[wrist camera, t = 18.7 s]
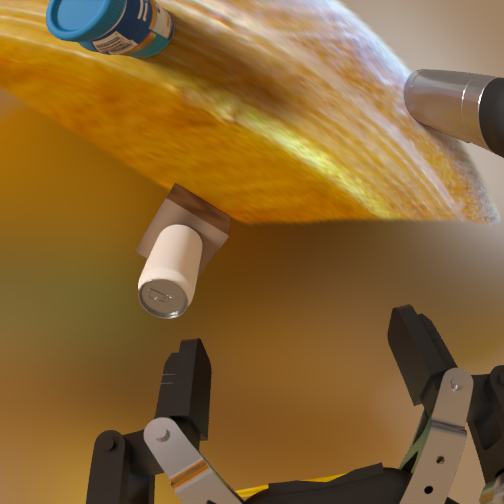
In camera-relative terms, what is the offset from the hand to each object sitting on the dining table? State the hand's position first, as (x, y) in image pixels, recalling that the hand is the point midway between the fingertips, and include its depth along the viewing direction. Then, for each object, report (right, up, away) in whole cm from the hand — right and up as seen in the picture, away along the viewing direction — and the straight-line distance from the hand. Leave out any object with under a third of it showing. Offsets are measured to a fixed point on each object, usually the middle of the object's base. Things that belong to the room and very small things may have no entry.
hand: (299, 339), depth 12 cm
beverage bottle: (-16, +33, +19) cm, 42 cm away
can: (-12, +5, +30) cm, 33 cm away
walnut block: (-12, +8, +35) cm, 38 cm away
